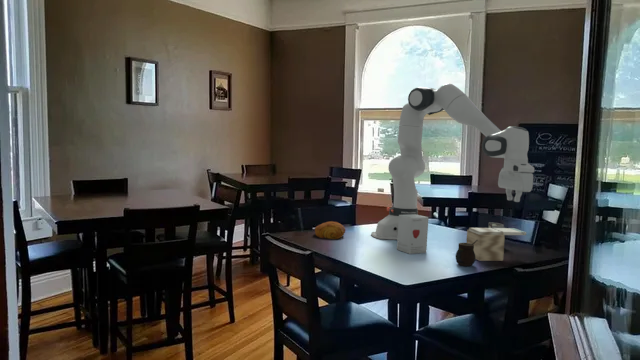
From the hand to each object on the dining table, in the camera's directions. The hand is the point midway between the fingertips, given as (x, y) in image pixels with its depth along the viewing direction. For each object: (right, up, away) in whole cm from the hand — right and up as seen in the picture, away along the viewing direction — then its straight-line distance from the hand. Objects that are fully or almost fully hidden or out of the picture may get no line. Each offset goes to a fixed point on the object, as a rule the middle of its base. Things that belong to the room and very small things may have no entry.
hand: (513, 200), depth 203 cm
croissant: (-73, -18, +33) cm, 82 cm away
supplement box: (-40, -21, +6) cm, 46 cm away
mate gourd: (-24, -24, -15) cm, 37 cm away
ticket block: (-12, -23, 0) cm, 26 cm away
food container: (+2, -22, +24) cm, 33 cm away
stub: (-1, -13, +1) cm, 13 cm away
